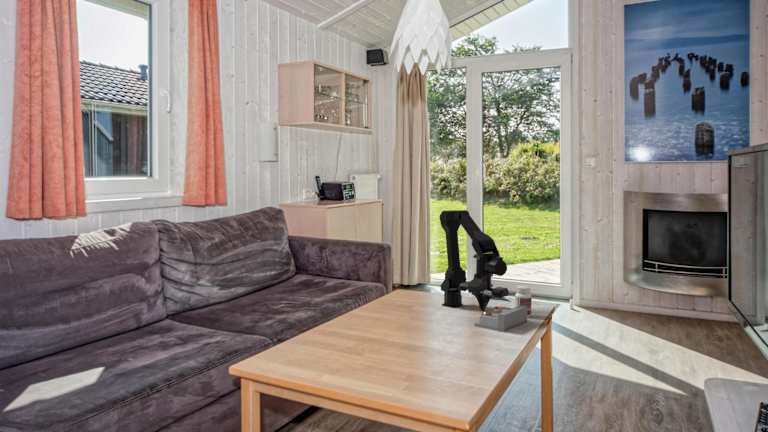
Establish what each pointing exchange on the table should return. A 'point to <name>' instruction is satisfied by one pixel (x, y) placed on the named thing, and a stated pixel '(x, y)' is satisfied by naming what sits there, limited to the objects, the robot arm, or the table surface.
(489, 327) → the mount
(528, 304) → the pill bottle
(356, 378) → the table surface
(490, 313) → the knob near
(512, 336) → the table surface
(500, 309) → the knob far
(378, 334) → the table surface
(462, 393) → the table surface
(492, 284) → the robot arm
